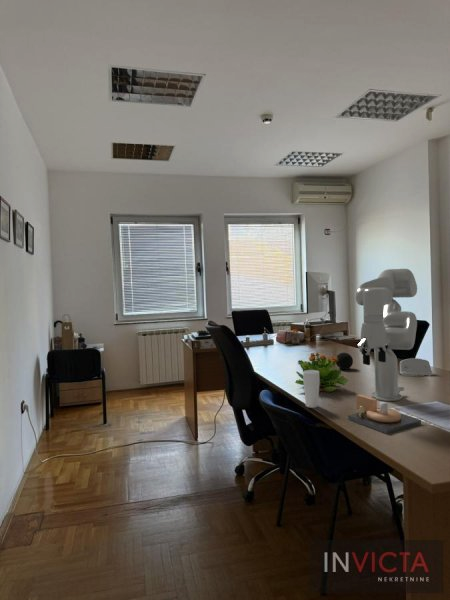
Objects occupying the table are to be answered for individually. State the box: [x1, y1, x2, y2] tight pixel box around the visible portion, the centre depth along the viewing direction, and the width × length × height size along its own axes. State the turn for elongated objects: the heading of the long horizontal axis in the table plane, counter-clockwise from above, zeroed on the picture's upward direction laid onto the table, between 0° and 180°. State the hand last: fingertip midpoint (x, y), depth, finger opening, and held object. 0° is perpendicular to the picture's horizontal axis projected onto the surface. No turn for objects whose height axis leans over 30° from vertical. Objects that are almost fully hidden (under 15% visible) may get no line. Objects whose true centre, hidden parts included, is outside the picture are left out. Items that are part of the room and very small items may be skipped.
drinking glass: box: [302, 370, 320, 409], centre depth 171 cm, size 7×7×15 cm
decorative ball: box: [335, 352, 354, 370], centre depth 241 cm, size 10×10×10 cm
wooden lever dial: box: [355, 394, 402, 422], centre depth 153 cm, size 12×18×6 cm, turn 27°
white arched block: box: [398, 357, 434, 377], centre depth 223 cm, size 17×5×10 cm, turn 83°
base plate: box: [347, 406, 422, 435], centre depth 150 cm, size 18×18×6 cm
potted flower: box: [294, 352, 350, 393], centre depth 199 cm, size 25×24×18 cm
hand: (374, 362), depth 161 cm, fingers open, 8 cm apart
